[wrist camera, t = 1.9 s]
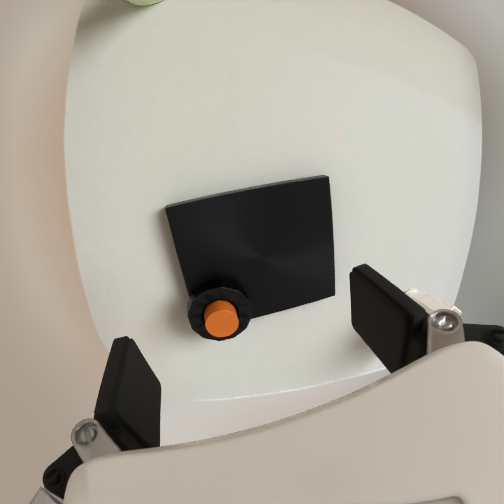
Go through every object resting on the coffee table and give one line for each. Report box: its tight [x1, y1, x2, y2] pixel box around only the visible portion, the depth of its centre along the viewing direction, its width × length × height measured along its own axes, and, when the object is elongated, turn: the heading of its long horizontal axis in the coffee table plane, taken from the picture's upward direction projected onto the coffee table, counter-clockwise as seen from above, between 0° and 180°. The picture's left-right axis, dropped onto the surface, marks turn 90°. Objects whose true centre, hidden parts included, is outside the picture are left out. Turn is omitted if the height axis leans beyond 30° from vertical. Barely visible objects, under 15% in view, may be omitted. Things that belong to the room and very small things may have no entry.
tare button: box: [204, 300, 239, 337], centre depth 25 cm, size 3×3×2 cm
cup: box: [405, 288, 461, 317], centre depth 32 cm, size 7×10×8 cm
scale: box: [165, 175, 335, 341], centre depth 26 cm, size 16×14×3 cm
